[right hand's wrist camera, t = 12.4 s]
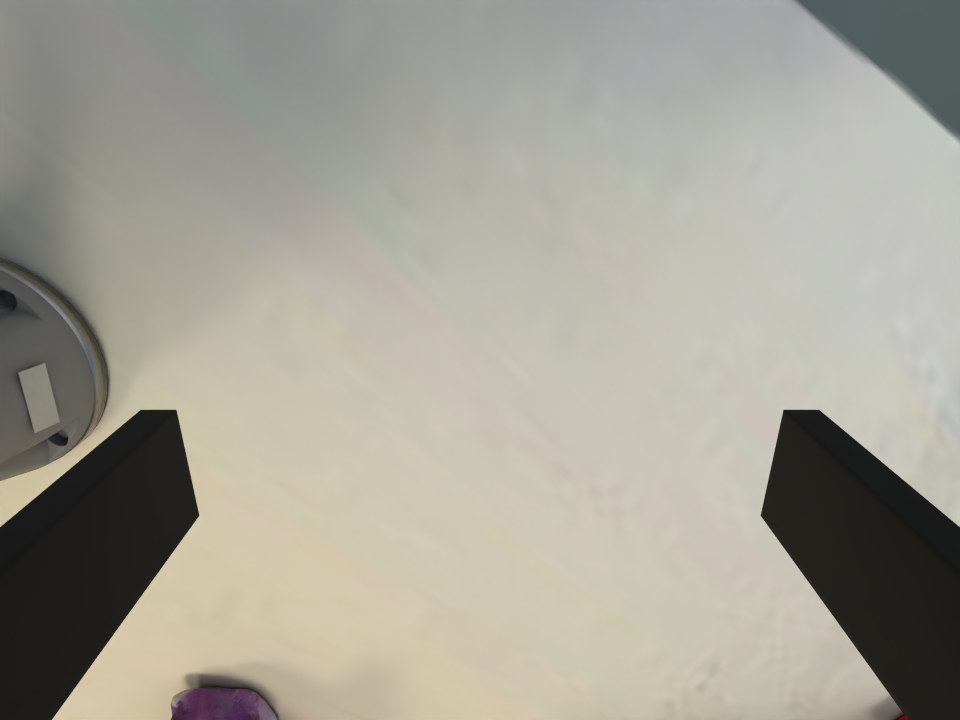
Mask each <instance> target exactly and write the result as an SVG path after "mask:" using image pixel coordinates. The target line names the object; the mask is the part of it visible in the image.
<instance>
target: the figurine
mask: <svg viewBox="0 0 960 720" xmlns="http://www.w3.org/2000/svg"><path fill="white" fill-rule="evenodd" d="M171 709H172V719H171V720H277V718H276V715H275V714H274V712H273V711H272V709H271V708H270V707H269V705H268V704H267V703H266V702H265V701H264V700H263V698H261V697H260V695H258V694H257V693H256V692H253V691H251V690H250V689H240V688H239V689H229V688H216V687H210V688H193V689H189V690H186V691H183V692H180V693H179V694H177V695H175V696H174V697H173V699H172V701H171Z"/></svg>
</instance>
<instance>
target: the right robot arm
mask: <svg viewBox="0 0 960 720" xmlns="http://www.w3.org/2000/svg"><path fill="white" fill-rule="evenodd" d="M106 398H107V374H106V368H105V364H104V360H103V357H102V354H101V351H100V348H99V346H98V344H97V342H96V340H95V338H94V336H93V334H92V332H91V330H90V329H89V327H88V325H87V324H86V322H85V321H84V320H83V318H82V317H81V316H80V314H79V313H78V312H77V311H76V309H75V308H74V307H73V306H72V305H71V304H70V303H69V302H68V301H67V300H66V299H65V298H64V297H63V296H62V295H61V294H60V293H59V292H58V291H57V290H55V289H54V288H53V287H52V286H51V285H49V284H48V283H47V282H45V281H44V280H42V279H41V278H39V277H38V276H36V275H35V274H33V273H32V272H30V271H28V270H26V269H24V268H22V267H21V266H19V265H16V264H14V263H12V262H10V261H7V260H5V259H2V258H0V481H2V480H5V479H8V478H11V477H14V476H17V475H20V474H23V473H27V472H30V471H33V470H36V469H39V468H41V467H43V466H45V465H47V464H49V463H51V462H53V461H55V460H57V459H59V458H61V457H62V456H64V455H65V454H67V453H68V452H69V451H71V450H72V449H73V448H75V447H76V446H77V445H78V444H80V443H81V442H82V441H83V440H84V439H85V438H87V437H88V436H89V435H90V433H91V432H92V431H93V430H94V428H95V427H96V425H97V424H98V422H99V420H100V418H101V416H102V413H103V410H104V407H105V404H106ZM198 517H199V512H198V508H197V503H196V499H195V494H194V489H193V485H192V480H191V475H190V471H189V466H188V462H187V457H186V452H185V448H184V443H183V438H182V434H181V429H180V425H179V420H178V415H177V411H176V410H140V411H139V412H138V413H137V414H135V415H134V416H133V417H132V418H131V419H129V420H128V421H127V422H126V423H125V424H123V425H122V426H121V427H120V428H119V429H117V430H116V431H115V432H114V433H113V434H111V435H110V436H109V437H108V438H107V439H105V440H104V441H103V442H102V443H101V444H99V445H98V446H97V447H96V448H95V449H93V450H92V451H91V452H90V453H89V454H87V455H86V456H85V457H84V458H83V459H81V460H80V461H79V462H78V463H77V464H75V465H74V466H73V467H72V468H71V469H69V470H68V471H67V472H66V473H65V474H63V475H62V476H61V477H60V478H59V479H58V480H56V481H55V482H54V483H53V484H52V485H50V486H49V487H48V488H47V489H46V490H44V491H43V492H42V493H41V494H40V495H38V496H37V497H36V498H35V499H34V500H32V501H31V502H30V503H29V504H28V505H26V506H25V507H24V508H23V509H22V510H20V511H19V512H18V513H17V514H16V515H14V516H13V517H12V518H11V519H10V520H8V521H7V522H6V523H5V524H4V525H2V526H1V527H0V720H52V719H53V717H54V716H55V715H56V713H57V712H58V710H59V709H60V708H61V706H62V705H63V704H64V702H65V701H66V699H67V698H68V697H69V695H70V694H71V692H72V691H73V690H74V688H75V687H76V686H77V684H78V683H79V681H80V680H81V679H82V677H83V676H84V674H85V673H86V672H87V670H88V669H89V668H90V666H91V665H92V663H93V662H94V661H95V659H96V658H97V656H98V655H99V654H100V652H101V651H102V650H103V648H104V647H105V645H106V644H107V643H108V641H109V640H110V638H111V637H112V636H113V634H114V633H115V632H116V630H117V629H118V627H119V626H120V625H121V623H122V622H123V620H124V619H125V618H126V616H127V615H128V614H129V612H130V611H131V609H132V608H133V607H134V605H135V604H136V602H137V601H138V600H139V598H140V597H141V596H142V594H143V593H144V591H145V590H146V589H147V587H148V586H149V584H150V583H151V582H152V580H153V579H154V578H155V576H156V575H157V573H158V572H159V571H160V569H161V568H162V566H163V565H164V564H165V562H166V561H167V560H168V558H169V557H170V555H171V554H172V553H173V551H174V550H175V548H176V547H177V546H178V544H179V543H180V542H181V540H182V539H183V537H184V536H185V535H186V533H187V532H188V530H189V529H190V528H191V526H192V525H193V524H194V522H195V521H196V519H197V518H198ZM761 517H762V518H763V519H764V521H765V522H766V524H767V525H768V526H769V528H770V529H771V530H772V532H773V533H774V535H775V536H776V537H777V539H778V540H779V542H780V543H781V544H782V546H783V547H784V548H785V550H786V551H787V553H788V554H789V555H790V557H791V558H792V560H793V561H794V562H795V564H796V565H797V566H798V568H799V569H800V571H801V572H802V573H803V575H804V576H805V578H806V579H807V580H808V582H809V583H810V584H811V586H812V587H813V589H814V590H815V591H816V593H817V594H818V596H819V597H820V598H821V600H822V601H823V602H824V604H825V605H826V607H827V608H828V609H829V611H830V612H831V614H832V615H833V616H834V618H835V619H836V620H837V622H838V623H839V625H840V626H841V627H842V629H843V630H844V632H845V633H846V634H847V636H848V637H849V638H850V640H851V641H852V643H853V644H854V645H855V647H856V648H857V650H858V651H859V652H860V654H861V655H862V656H863V658H864V659H865V661H866V662H867V663H868V665H869V666H870V668H871V669H872V670H873V672H874V673H875V674H876V676H877V677H878V679H879V680H880V681H881V683H882V684H883V686H884V687H885V688H886V690H887V691H888V692H889V694H890V695H891V697H892V698H893V699H894V701H895V702H896V704H897V705H898V706H899V708H900V709H901V710H902V712H903V713H904V715H905V716H906V717H907V719H908V720H960V527H959V526H958V525H956V524H955V523H954V522H953V521H952V520H950V519H949V518H948V517H947V516H946V515H944V514H943V513H942V512H941V511H940V510H938V509H937V508H936V507H935V506H934V505H932V504H931V503H930V502H929V501H928V500H926V499H925V498H924V497H923V496H922V495H920V494H919V493H918V492H917V491H916V490H914V489H913V488H912V487H911V486H910V485H908V484H907V483H906V482H905V481H904V480H902V479H901V478H900V477H899V476H898V475H897V474H895V473H894V472H893V471H892V470H891V469H889V468H888V467H887V466H886V465H885V464H883V463H882V462H881V461H880V460H879V459H877V458H876V457H875V456H874V455H873V454H871V453H870V452H869V451H868V450H867V449H865V448H864V447H863V446H862V445H861V444H859V443H858V442H857V441H856V440H855V439H853V438H852V437H851V436H850V435H849V434H847V433H846V432H845V431H844V430H843V429H841V428H840V427H839V426H838V425H837V424H835V423H834V422H833V421H832V420H831V419H829V418H828V417H827V416H826V415H825V414H823V413H822V412H821V411H820V410H784V411H783V415H782V420H781V425H780V429H779V434H778V438H777V443H776V448H775V452H774V457H773V462H772V466H771V471H770V475H769V480H768V485H767V489H766V494H765V499H764V503H763V508H762V512H761Z"/></svg>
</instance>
